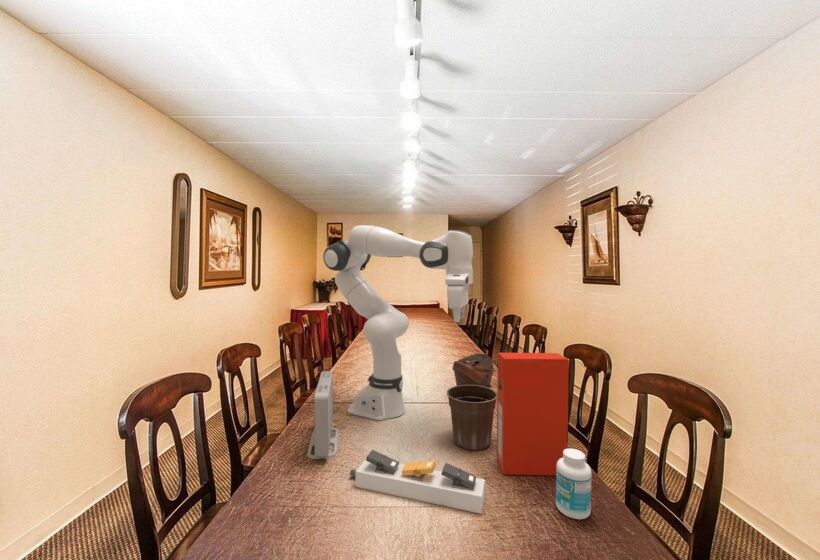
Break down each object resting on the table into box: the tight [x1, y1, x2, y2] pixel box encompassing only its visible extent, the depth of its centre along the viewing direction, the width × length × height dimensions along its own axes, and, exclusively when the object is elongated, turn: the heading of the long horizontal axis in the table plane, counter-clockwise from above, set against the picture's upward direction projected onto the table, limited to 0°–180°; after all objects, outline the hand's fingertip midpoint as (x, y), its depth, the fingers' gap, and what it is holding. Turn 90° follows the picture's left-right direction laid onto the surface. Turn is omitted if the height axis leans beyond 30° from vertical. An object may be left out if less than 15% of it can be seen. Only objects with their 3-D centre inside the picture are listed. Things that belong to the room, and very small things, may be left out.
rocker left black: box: [365, 449, 400, 474], centre depth 92 cm, size 8×4×2 cm, turn 73°
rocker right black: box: [441, 462, 477, 489], centre depth 86 cm, size 8×4×2 cm, turn 73°
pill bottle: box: [555, 448, 593, 520], centre depth 82 cm, size 8×7×14 cm
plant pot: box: [446, 385, 497, 451], centre depth 115 cm, size 16×16×16 cm
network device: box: [306, 370, 340, 460], centre depth 113 cm, size 26×9×20 cm, turn 9°
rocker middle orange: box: [402, 460, 437, 477], centre depth 89 cm, size 8×4×2 cm, turn 72°
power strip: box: [349, 459, 486, 515], centre depth 89 cm, size 35×7×4 cm, turn 72°
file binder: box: [496, 352, 570, 476], centre depth 99 cm, size 8×17×32 cm, turn 89°
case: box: [452, 353, 494, 389], centre depth 154 cm, size 18×20×18 cm
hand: (459, 319), depth 118 cm, fingers open, 8 cm apart
